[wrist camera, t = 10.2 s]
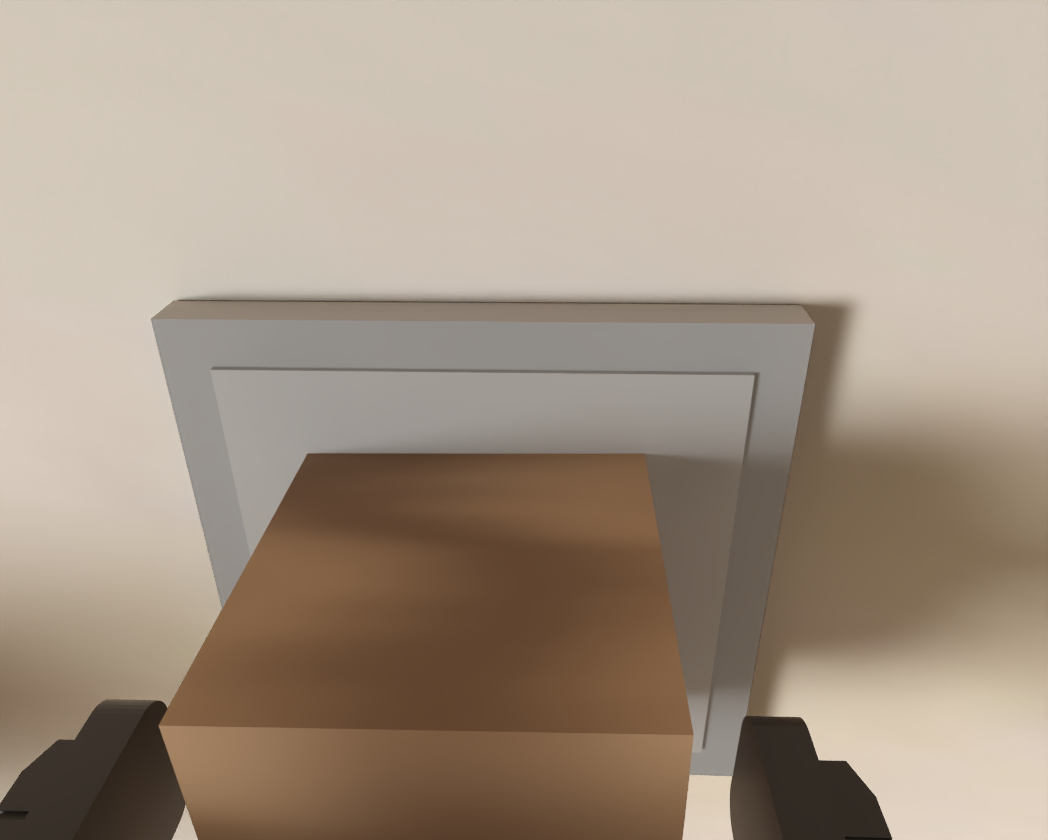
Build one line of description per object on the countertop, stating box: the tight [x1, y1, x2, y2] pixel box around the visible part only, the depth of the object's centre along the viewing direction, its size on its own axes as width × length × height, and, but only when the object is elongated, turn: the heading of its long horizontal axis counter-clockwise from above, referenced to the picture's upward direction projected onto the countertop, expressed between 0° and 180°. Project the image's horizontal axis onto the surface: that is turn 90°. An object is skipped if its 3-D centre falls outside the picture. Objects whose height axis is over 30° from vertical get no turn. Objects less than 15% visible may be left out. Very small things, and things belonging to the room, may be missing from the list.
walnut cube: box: [159, 453, 694, 840], centre depth 12 cm, size 6×6×6 cm
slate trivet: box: [151, 301, 815, 776], centre depth 15 cm, size 10×10×1 cm
